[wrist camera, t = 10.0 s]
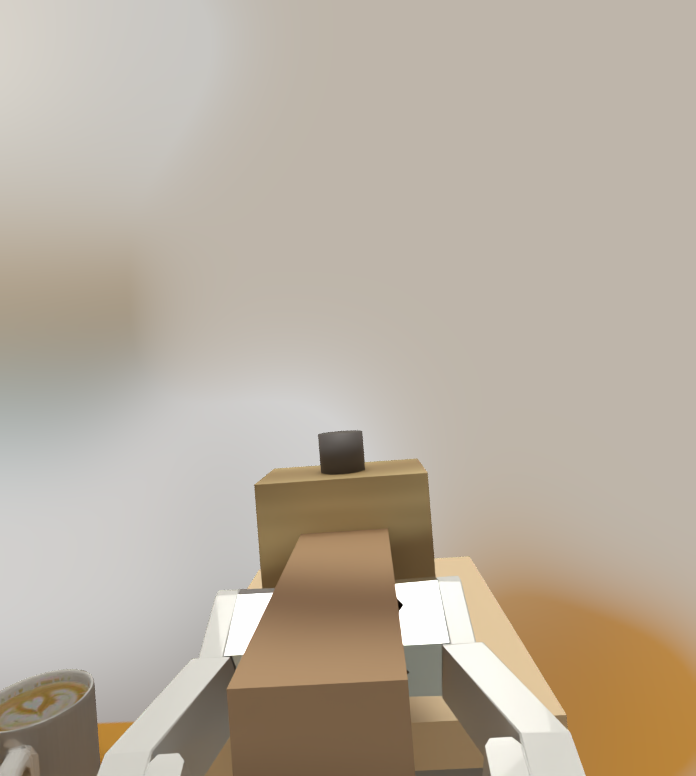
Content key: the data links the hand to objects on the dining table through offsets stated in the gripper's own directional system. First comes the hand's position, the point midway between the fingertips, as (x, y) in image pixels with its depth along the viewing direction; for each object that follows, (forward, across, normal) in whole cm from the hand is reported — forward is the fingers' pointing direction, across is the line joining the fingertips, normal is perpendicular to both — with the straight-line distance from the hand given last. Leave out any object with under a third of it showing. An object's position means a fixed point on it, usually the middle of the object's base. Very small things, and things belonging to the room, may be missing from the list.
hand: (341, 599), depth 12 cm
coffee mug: (+13, -33, -44) cm, 57 cm away
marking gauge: (+3, 0, -4) cm, 5 cm away
